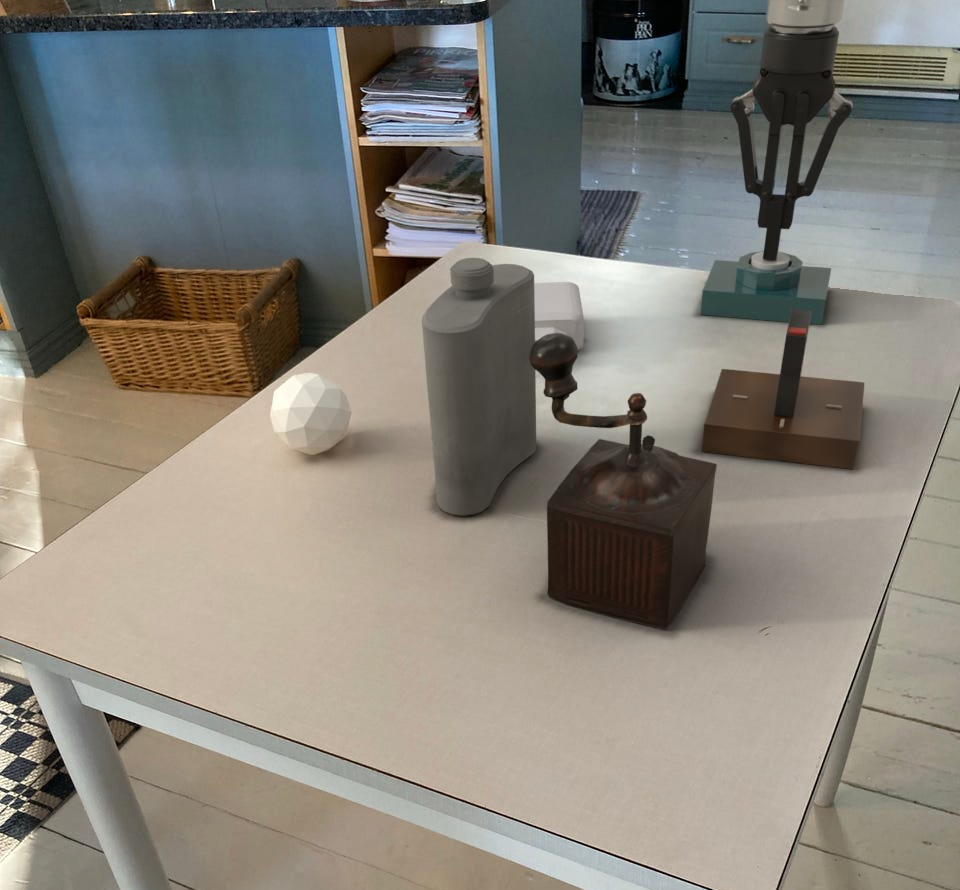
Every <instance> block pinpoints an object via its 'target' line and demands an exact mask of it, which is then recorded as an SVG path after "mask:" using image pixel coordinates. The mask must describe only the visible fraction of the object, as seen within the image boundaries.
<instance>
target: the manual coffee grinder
mask: <svg viewBox="0 0 960 890" xmlns="http://www.w3.org/2000/svg"><path fill="white" fill-rule="evenodd" d="M578 354H579V350H578V348H577V345H576V343H575V342H574V340H573V338H572V337H570V336H567V335H565V334H562V333H552V334H547V335H545V336H543V337H541V338H540V339H539V340H537V341H536V342H535V343H534V344H533V346H532V347H531V351H530V355H529V360H530V364H531V366H532V367H533V368H534V369H535V371H537V372H538V373H539V374H540V375H541V376H542V377H543V379H544V388H543V391H542V393H543V395H544V397H546V398H551V413H552V415H553V418H554V419H555V420H556V421H558V423H560V424H564V425H569V426H573V427H583V428H584V427H585V428H594V429H595V428H596V429H597V428H598V429H614V428H619V427H624V426H628V425H629V441H628V444H625V443H621V442H616V441H611V440H606V439H601V438H598V439H597V441H595V443H594V444H593V445H592V446H591V447H590V448H589V449H588V451H586V453H585V454H584V455H583V456H582V457H581V458H580V460H579V461H578V462H577V463H576V464H575V465H574V466H573V468H571V470H570V471H569V473H568V474H567V475H566V476H565V478H564V479H563V480H562V481H561V482H560V484H559V485H558V487H557V488H556V489H555V490H554V492H553V493H552V495H551V496H550V498H548V500H547V501H546V531H547V533H546V535H547V536H546V537H547V592H546V593H547V596H548V598H550V599H552V600H554V601H557V602H559V603H562V604H564V605H567V606H571V607H573V608H578V609H581V610H583V611H584V610H585V611H588V612H592V613H595V614H599V615H603V616H606V617H610V618H612V619H613V618H614V619H618V620H622V621H627V622H631V623H635V624H639V625H644V626H648V627H652V628H657V629H661V630H665V631H666V630H667V629H668V628H669V627H670V625H672V623H673V622H674V621H675V619H676V618H677V617H678V615H679V613H680V612H681V610H682V609H683V607H684V605H685V603H686V601H687V599H688V598H689V596H690V595H691V594H692V591H693V589H694V588H695V586H696V584H697V583H698V580H699V579H700V577H701V576H702V573H703V572H704V570H705V568H706V566H707V565H706V564H707V561H706V560H707V545H708V539H709V531H710V524H711V516H712V507H713V499H714V490H715V480H716V473H717V463H714V462H711V461H707V460H702V459H698V458H693V457H690V456H689V457H688V456H683V455H680V454H678V453H677V452H675V451H672V450H669V449H667V448H663V447H661V446H657V445H655V444H656V443H655V442H656V439H655V437H654V436H652V435H650V434H649V435H648V434H647V435H645V436H644V437H642V435H643V424H645V422H646V421H647V420H648V414H647V412H646V411H645V407H646V405H647V399H646V398H645V395H643V393H641V392H635V393H632V394H630V396H629V397H628V399H627V404H628V408H629V410H627V411H626V412H627V413H626V414H618V415H605V416H604V415H589V414H588V415H587V414H578V413H570V412H568V411H566V410H565V401H566V400H568V399H569V398H570V395H571V394H573V393H574V392H576V391H577V390H578V387H579V386H578V381H577V380H576V379H575V377H574V376H573V375H574V374H572V373H573V368H574V365H575V364H576V362H577V359H578V357H579V356H578Z"/></svg>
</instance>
